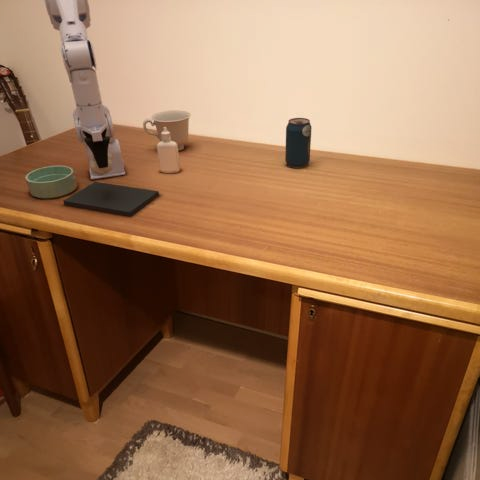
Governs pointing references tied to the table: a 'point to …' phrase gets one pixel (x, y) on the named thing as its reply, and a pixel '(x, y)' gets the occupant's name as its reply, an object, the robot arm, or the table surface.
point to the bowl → (51, 181)
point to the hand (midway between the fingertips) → (102, 163)
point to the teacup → (171, 125)
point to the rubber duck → (98, 170)
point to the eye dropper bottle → (168, 154)
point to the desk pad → (112, 198)
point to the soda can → (298, 142)
